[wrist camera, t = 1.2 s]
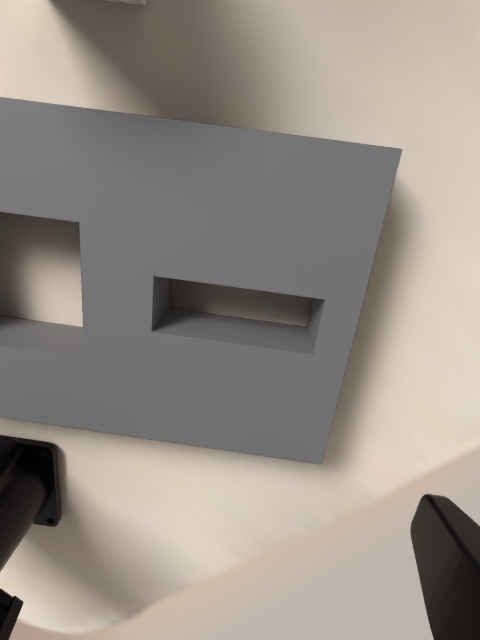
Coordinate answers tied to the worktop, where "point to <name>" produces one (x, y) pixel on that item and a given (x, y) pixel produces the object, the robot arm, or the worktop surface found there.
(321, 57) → the worktop surface
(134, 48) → the worktop surface
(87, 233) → the socket board
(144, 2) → the square peg
